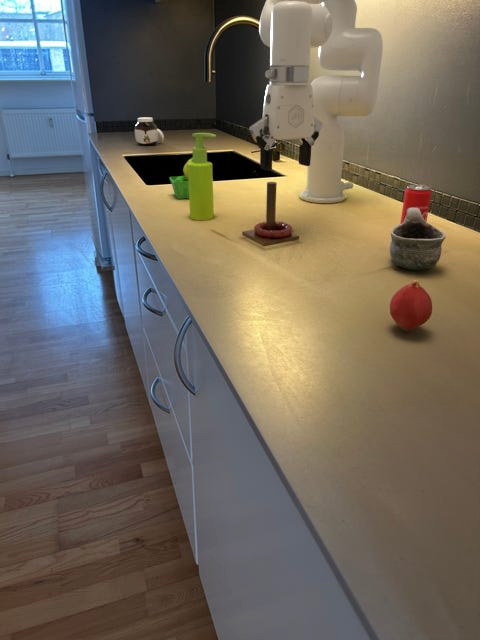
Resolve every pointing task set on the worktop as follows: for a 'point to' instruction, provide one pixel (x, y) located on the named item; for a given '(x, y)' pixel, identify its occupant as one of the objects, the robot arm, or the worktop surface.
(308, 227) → the worktop surface
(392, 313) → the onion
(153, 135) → the spread jar
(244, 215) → the worktop surface
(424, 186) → the beverage can
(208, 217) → the soap dispenser
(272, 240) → the stand
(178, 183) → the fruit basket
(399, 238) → the grey stoneware bowl
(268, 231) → the ring
